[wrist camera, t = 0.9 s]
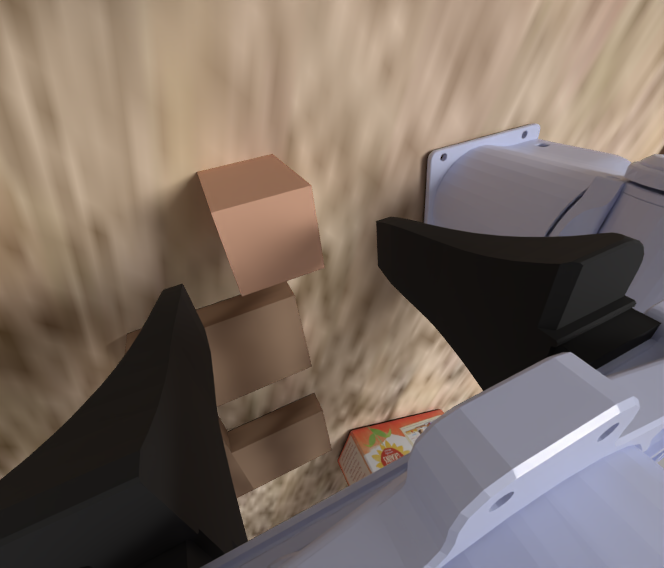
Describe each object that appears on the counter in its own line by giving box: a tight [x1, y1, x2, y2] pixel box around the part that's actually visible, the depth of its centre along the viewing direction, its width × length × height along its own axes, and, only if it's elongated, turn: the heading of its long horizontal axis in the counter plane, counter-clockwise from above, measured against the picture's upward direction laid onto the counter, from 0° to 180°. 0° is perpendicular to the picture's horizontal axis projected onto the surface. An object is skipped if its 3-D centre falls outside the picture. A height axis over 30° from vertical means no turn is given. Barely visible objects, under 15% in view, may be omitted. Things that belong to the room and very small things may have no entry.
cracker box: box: [338, 409, 444, 486], centre depth 32 cm, size 14×6×21 cm, turn 74°
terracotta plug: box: [197, 154, 325, 296], centre depth 16 cm, size 4×4×6 cm
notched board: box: [125, 281, 332, 498], centre depth 26 cm, size 10×20×2 cm, turn 8°
